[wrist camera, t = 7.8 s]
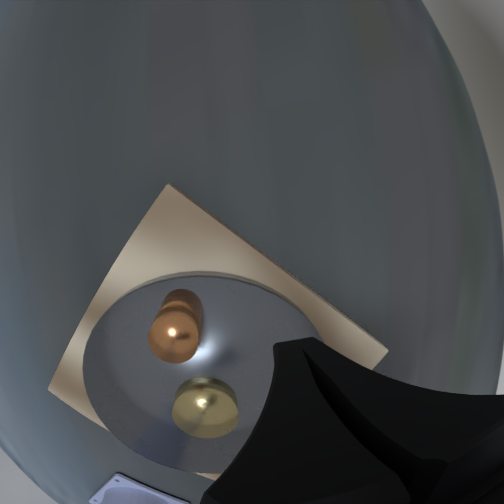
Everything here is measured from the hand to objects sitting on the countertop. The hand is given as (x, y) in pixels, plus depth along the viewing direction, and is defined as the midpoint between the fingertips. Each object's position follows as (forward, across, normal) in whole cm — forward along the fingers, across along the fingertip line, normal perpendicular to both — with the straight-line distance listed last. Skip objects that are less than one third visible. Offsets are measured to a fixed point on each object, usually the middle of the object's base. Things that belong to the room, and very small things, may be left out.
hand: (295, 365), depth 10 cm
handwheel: (+7, +4, +6) cm, 10 cm away
